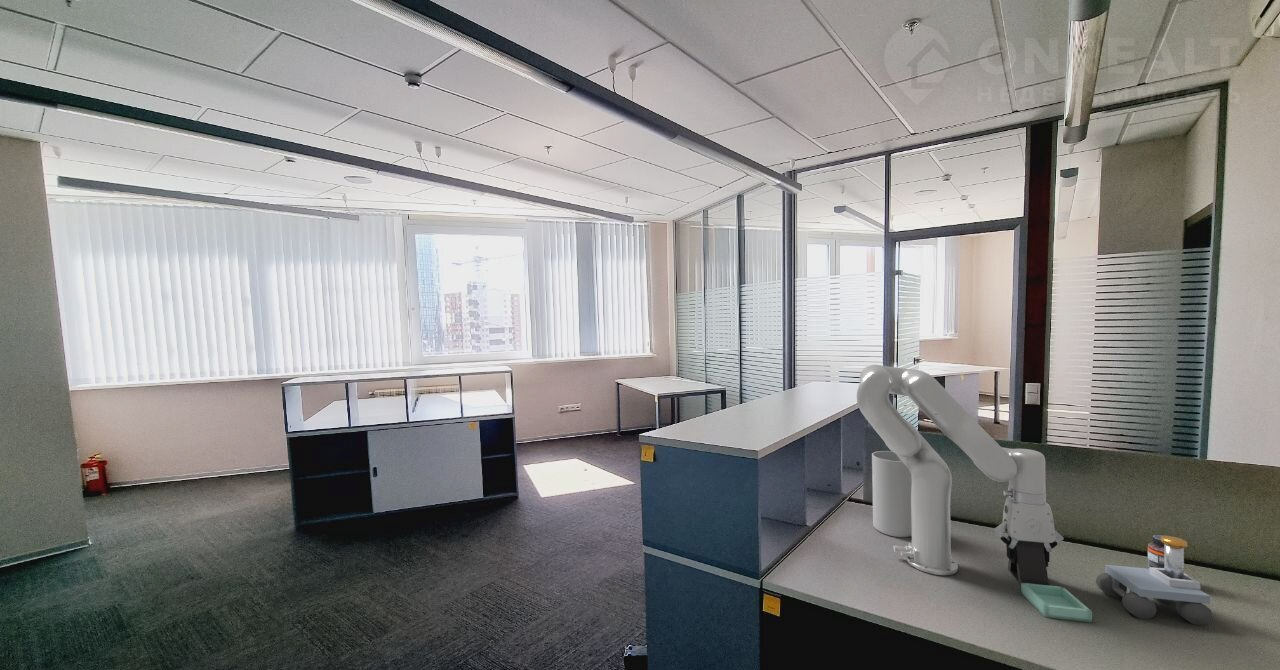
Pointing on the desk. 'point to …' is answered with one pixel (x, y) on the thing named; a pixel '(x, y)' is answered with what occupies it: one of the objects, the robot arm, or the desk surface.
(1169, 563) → the pin
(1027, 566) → the phone stand
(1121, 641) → the desk surface
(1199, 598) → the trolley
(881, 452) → the cylinder vase
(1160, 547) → the supplement bottle
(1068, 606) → the tray
